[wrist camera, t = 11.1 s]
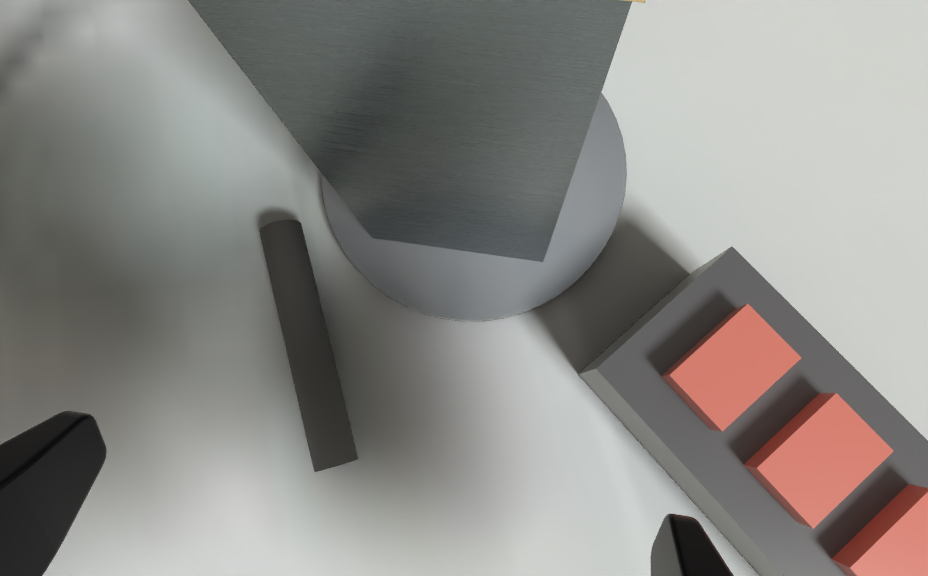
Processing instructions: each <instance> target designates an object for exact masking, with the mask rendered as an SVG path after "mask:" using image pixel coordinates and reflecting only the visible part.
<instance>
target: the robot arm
mask: <svg viewBox="0 0 928 576" xmlns="http://www.w3.org/2000/svg"><path fill="white" fill-rule="evenodd" d="M105 458H106V446H105V443H104V441H103V438H102V436H101V433H100V430H99V428H98V425H97V423H96V420H95V419H94V417H93V416H91V415H90V414H85V413H79V412H73V411H65V412H62V413H59V414H57V415H55V416H53V417H51V418H50V419H48V420H46V421H44V422H42V423H40V424H38V425H36V426H35V427H33V428H31V429H29V430H27V431H25V432H23V433H21V434H20V435H18V436H16V437H14V438H12V439H10V440H8V441H6V442H5V443H3V444H1V445H0V576H42V575H43V574H44V572H45V571H46V569H47V568H48V566H49V564H50V563H51V561H52V559H53V558H54V556H55V555H56V553H57V551H58V549H59V548H60V546H61V544H62V542H63V541H64V539H65V537H66V535H67V533H68V531H69V529H70V527H71V525H72V523H73V522H74V520H75V518H76V516H77V514H78V512H79V510H80V508H81V506H82V504H83V502H84V500H85V499H86V497H87V495H88V493H89V491H90V489H91V487H92V485H93V483H94V481H95V479H96V477H97V475H98V474H99V472H100V470H101V468H102V466H103V464H104V461H105ZM651 576H733V574H732V573H731V571H730V569H729V568H728V566H727V565H726V563H725V562H724V560H723V559H722V557H721V556H720V554H719V552H718V551H717V549H716V548H715V546H714V545H713V543H712V542H711V540H710V539H709V537H708V535H707V534H706V532H705V531H704V529H703V528H702V526H701V525H700V523H699V522H698V521H697V520H696V519H694V518H692V517H688V516H682V515H676V514H668V515H667V516H666V517H665V518H664V520H663V522H662V525H661V527H660V529H659V532H658V534H657V536H656V539H655V541H654V543H653V546H652V551H651Z"/></svg>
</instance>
